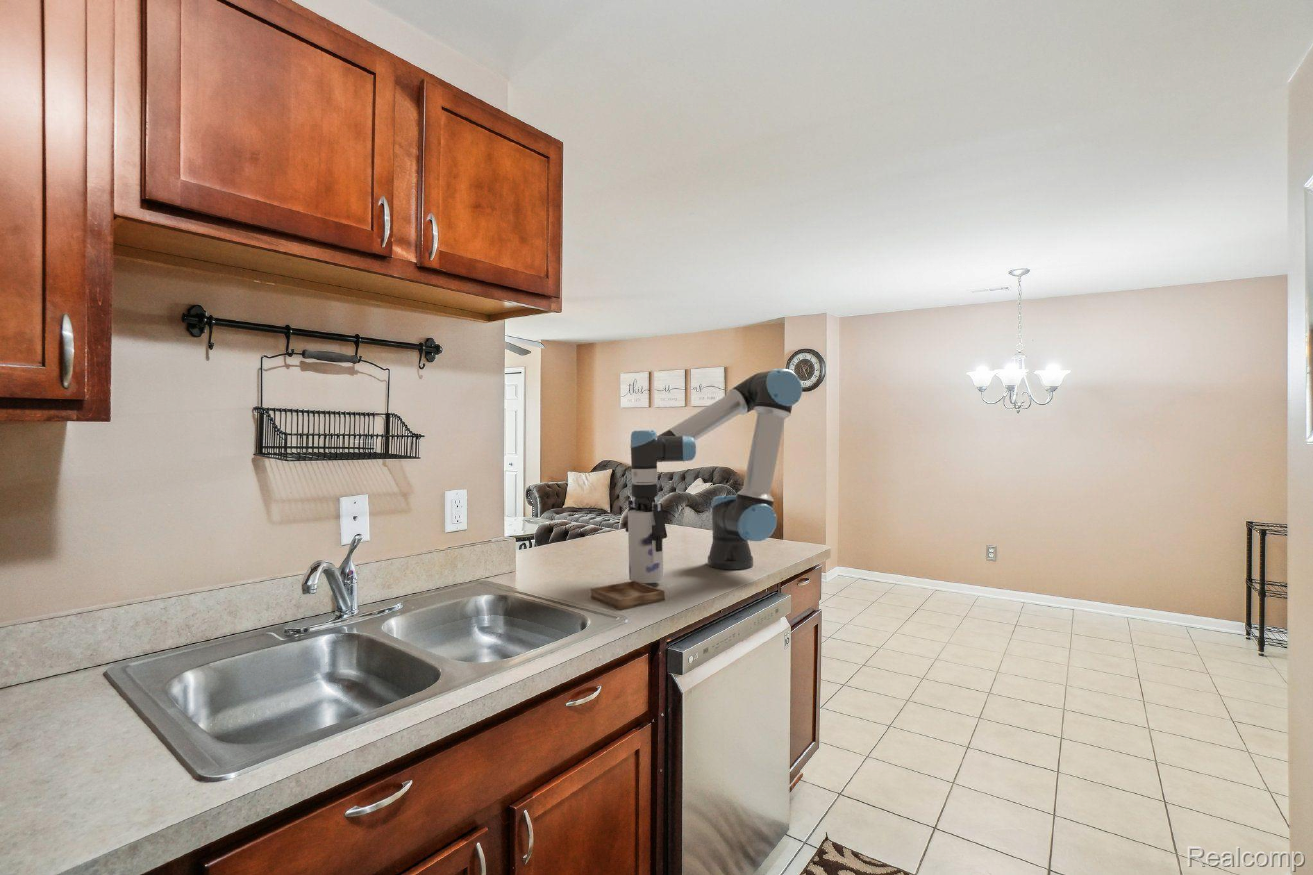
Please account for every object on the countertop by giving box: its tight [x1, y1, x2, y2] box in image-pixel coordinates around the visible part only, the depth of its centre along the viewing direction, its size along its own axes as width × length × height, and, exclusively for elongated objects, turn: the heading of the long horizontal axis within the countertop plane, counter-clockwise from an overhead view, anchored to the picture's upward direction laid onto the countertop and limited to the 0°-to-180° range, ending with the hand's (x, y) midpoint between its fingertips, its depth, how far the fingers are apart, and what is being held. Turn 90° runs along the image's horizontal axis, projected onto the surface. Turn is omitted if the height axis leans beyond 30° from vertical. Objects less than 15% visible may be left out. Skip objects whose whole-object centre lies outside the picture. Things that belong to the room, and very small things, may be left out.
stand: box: [590, 580, 666, 611], centre depth 158 cm, size 14×14×2 cm
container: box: [627, 510, 665, 584], centre depth 173 cm, size 10×10×20 cm
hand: (646, 559), depth 173 cm, fingers closed on container, 10 cm apart
